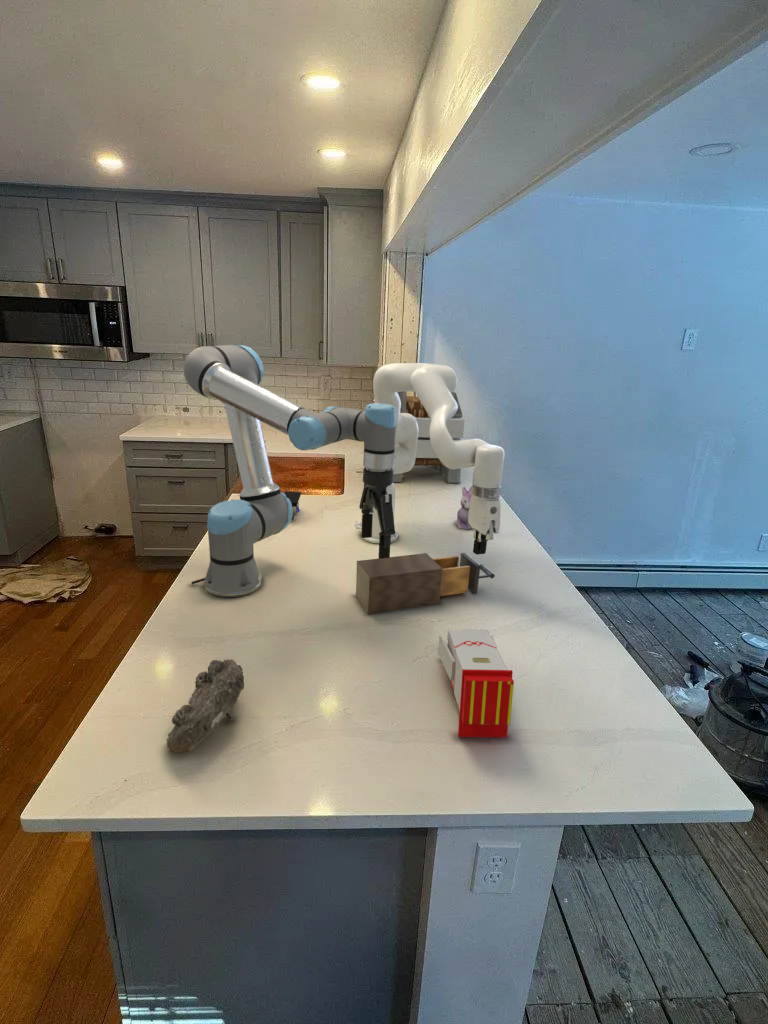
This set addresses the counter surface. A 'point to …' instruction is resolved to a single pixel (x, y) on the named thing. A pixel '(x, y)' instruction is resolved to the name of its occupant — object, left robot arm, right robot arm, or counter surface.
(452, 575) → the drawer
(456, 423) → the transformer
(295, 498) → the figurine character
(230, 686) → the fossil
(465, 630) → the toy
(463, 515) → the figurine
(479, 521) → the right robot arm
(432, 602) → the cabinet
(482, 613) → the counter surface
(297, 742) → the counter surface
